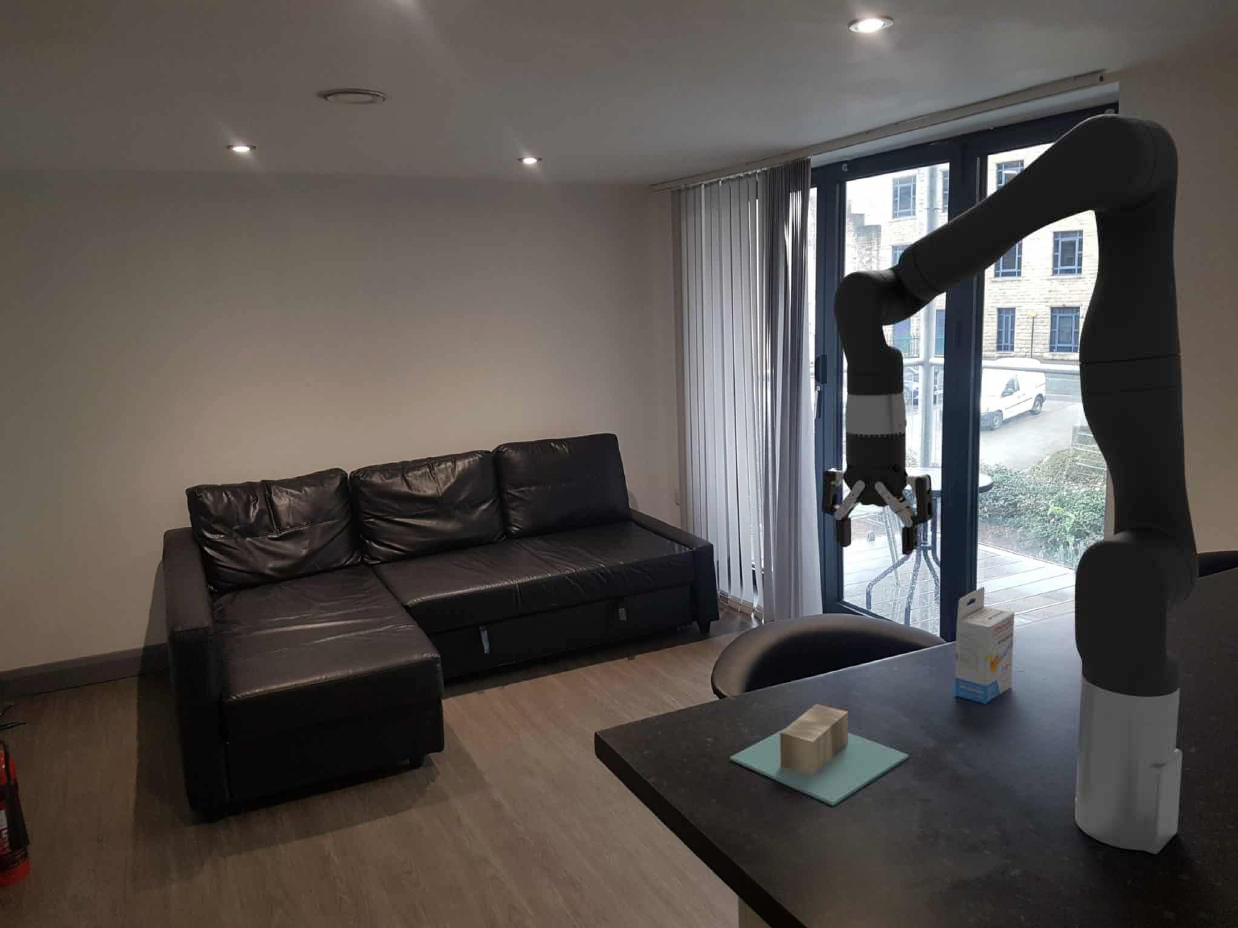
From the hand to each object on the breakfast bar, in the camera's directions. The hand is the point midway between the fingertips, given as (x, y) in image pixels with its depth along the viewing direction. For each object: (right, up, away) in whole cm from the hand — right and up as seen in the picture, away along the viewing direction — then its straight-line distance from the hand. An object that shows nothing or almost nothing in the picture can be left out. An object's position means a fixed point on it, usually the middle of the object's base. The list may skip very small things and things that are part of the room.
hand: (876, 549), depth 125 cm
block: (-6, -23, +1) cm, 24 cm away
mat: (-8, -27, -3) cm, 28 cm away
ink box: (+20, -22, +15) cm, 33 cm away
